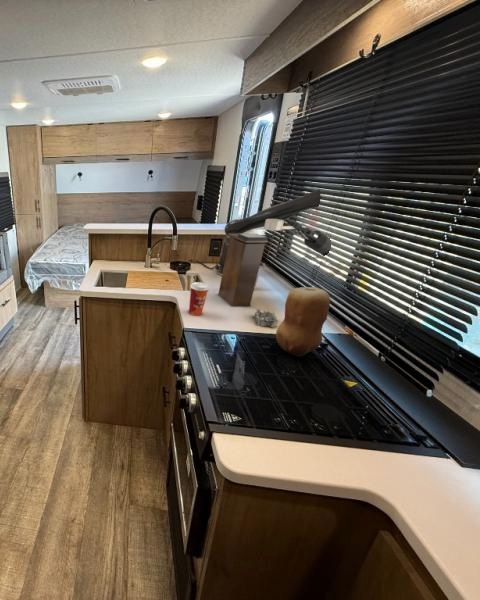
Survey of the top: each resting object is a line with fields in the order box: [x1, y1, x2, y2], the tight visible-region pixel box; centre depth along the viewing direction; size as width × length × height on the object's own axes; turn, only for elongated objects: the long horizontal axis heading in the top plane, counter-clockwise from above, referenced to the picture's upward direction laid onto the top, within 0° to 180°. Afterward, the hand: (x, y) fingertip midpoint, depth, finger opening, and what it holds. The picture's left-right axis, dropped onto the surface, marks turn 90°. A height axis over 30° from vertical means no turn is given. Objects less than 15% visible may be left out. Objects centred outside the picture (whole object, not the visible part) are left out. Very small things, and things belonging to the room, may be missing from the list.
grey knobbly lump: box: [253, 307, 279, 328], centre depth 132 cm, size 11×8×4 cm
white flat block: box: [263, 219, 306, 231], centre depth 138 cm, size 7×18×4 cm, turn 92°
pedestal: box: [217, 232, 269, 307], centre depth 148 cm, size 16×10×32 cm, turn 2°
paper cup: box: [188, 281, 210, 317], centre depth 138 cm, size 8×8×14 cm
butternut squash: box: [275, 286, 331, 357], centre depth 106 cm, size 14×13×25 cm
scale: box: [238, 233, 269, 241], centre depth 137 cm, size 8×10×2 cm
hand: (292, 224), depth 138 cm, fingers closed on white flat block, 2 cm apart
